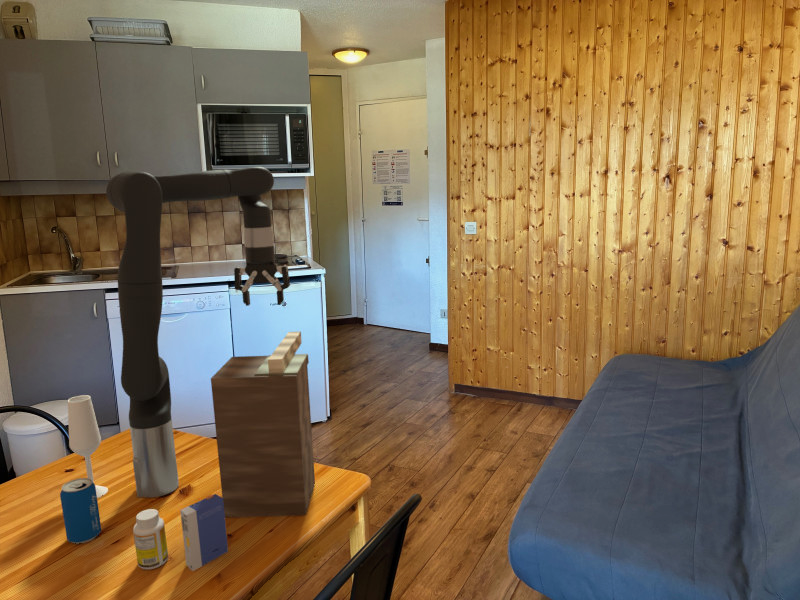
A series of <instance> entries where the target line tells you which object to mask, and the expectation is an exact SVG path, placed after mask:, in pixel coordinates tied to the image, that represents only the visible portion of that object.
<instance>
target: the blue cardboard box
mask: <svg viewBox="0 0 800 600" xmlns="http://www.w3.org/2000/svg"><path fill="white" fill-rule="evenodd" d="M179 511H180V519H181V528H182V529H181V531H182V536H183V545H184V546H183V547H184V554H185V555H184V556H185V564H186V566H187V567H188V569H189V570H190V571H192V572H195V570H198V569H199V568H201V567H204V566H205V565H206V564H208V563H210V562H212V561H213V560H215V559H217V558H219V557H221V556H223V555H225V554H227V553H228V552H229V546H228V537H227V526H226V518H225V513H224V503H223V498H222V496H220V495H218V494H216V493H214V494H209V495H207V496H206V497H205V498H204V499H201V500H199V501H196V502H195V503H193V504H190V505H188V506H186V507H184V508H181V509H180V510H179Z"/></svg>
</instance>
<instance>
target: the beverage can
mask: <svg viewBox="0 0 800 600" xmlns="http://www.w3.org/2000/svg"><path fill="white" fill-rule="evenodd" d="M95 485H96V483H95V482H94V483H93V482H92V480H91V479H89V478H88V477H81V478H80V477H79V478H75V479H71V480H69V481H67V482H66V483H64V484H63V485H61V490H60V492H59V496H60V497H59V498H60V503H61V509H62V510H61V511H62V515H63V522H64V528H65V535H66V540H67V541H68V543H73V544H75V543H76V545H79V543H82V544H86V543H88V542H89V543H90V542H91V541H93V540H94V539H96V537H98V536H99V535H100V533H101V532H102V523H101V516H100V510H99V509H100V508H99V504H98V503H99V502H98V498H97V495H96V487H95Z"/></svg>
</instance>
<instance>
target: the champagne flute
mask: <svg viewBox="0 0 800 600" xmlns="http://www.w3.org/2000/svg"><path fill="white" fill-rule="evenodd" d="M67 413H68V414H67V417H68V419H67V421H68V422H67V423H68V440H69V441H68V447H69V448H70V450H71V451H72V452H74V453H75V454H77V455H79V456H81V457H84V460H85V461H84V462H85V468H86V476H87V477H86V478H89V479H91V480H92V482H93V483H94V484H95V480H94V474H93V466H92V461H91V460H92V459H91V455H93V453H95V451H97V449H98V448H99V446H100V445H101V443H102V437H101V433H100V430H99V425H98V422H97V418H96V413H95V409H94V405H93V402H92V397H91V395H86V394H83V395H77V396H73V397H69V398H68V399H67ZM95 487H96V495H97V499H98V498H99V499H100V498H101V497H103V496H104V495H106V494H107V493H108V491H109V489H108V487H106V486H102V485H97V484H95ZM102 495H103V496H102Z"/></svg>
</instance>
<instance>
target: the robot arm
mask: <svg viewBox="0 0 800 600" xmlns="http://www.w3.org/2000/svg"><path fill="white" fill-rule="evenodd" d="M274 184H275V179H274V176H273V173H272V172H271V171H270V170H269V169H268V168H266V167H263V166H253V167H243V168H238V169H212V170H203V171H201V170H200V171H196V172H194V171H193V172H187V173H179V174H169V175H167V174H166V175H152V174H151V173H148V172H146V171H145V172H144V171H125V172H120V173H118V174H116V175H114V176H113V177H111V179H110V180H109V181H108V183H107V186H106V190H105V191H106V192H105V193H106V194H105V195H106V198H107V200H108V202H109V204H111V206H113V208H115V209H116V210H118V211H120V212H122V213H124V218H125V228H126V229H125V230H126V233H125V234H126V237H125V244H124V248H123V251H122V254H121V258H120V262H119V264H118V270H117V293H118V294H117V296H118V305H119V315H120V316H119V317H120V326H121V334H122V356H121V357H122V361H121V371H120V372H121V373H120V384H121V388H122V389H123V392H124V393H125V394H126V395H127V396H128V397H129V409H128V423H129V431H130V437H131V445H132V453H133V457H132V464H133V473H134V481H135V489H136V497H137V498H158V497H162V496H165V495H168V494H170V493H172V492H174V491H175V490H176V489H178V487H179V484H180V483H179V474H178V463H177V455H176V447H175V438H174V437H175V436H174V429H173V428H174V427H173V420H172V395H171V394H172V393H171V384H170V382H171V381H170V372H169V369H168V365H167V363H166V361H165V360H164V359H163V358H162V357H161V356H160V354H159V342H158V341H159V330H160V325H161V318H162V312H163V299H164V297H163V295H164V293H163V291H164V290H163V289H164V288H163V275H162V251H161V250H162V249H161V224H162V211H163V210H162V209H163V204H165V203H174V202H199V201H200V202H202V201H213V200H214V201H215V200H224V199H229V198H235V197H237V198H238V201H239V205H240V207H241V210H242V217H243V227H244V229H243V241H244V244H243V245H244V253H245V254H244V255H245V264H246V265H245V267H241V266H237V267H235V268H233V269H234V270H233V271H234V273H233V275H234V289H235V290H236V291H239V292H240V291H241V292H242V302H243V304H244V305H245V306H246V307H247V306H250V305H251V298H250V297H251V295H250V290H249V289H250V287H251V286H252V285H253V283H255V284H260V283H263V284H268V283H270V284H271V285H272V286H274V288H275V289H276V300H277V302H276V303H277V306H280V305H282V303H283V302H284V300H285V299H284V297H285V295H284V290H287V289H289V287H291V283H290V275H289V266H288V265H286V264H284V265H282V266H281V265H279V266H277V264H276V258H275V257H276V256H275V240H274V233H273V228H272V227H273V226H272V214H271V209H270V207H269V206H268V205H267V204H265V203H264V202H263V200H262V197H261V196H262V195H266V194H268V193H269V192H270V191H271V190H272V189H273V187H274ZM277 272H279V274H280V275H281V277H282V283H283V284H282V283H281V282H280V281H279V279H278V277H276V273H277ZM245 273H246V275H247V276H248V278H247V280H246V282H245V284H244V285H243V283H242V276H244V274H245Z"/></svg>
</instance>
